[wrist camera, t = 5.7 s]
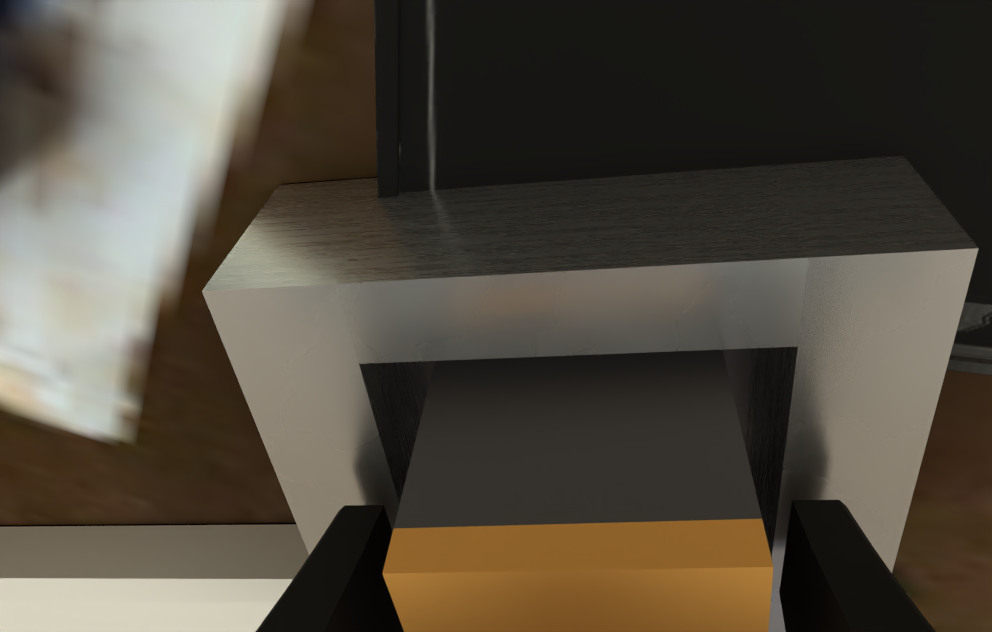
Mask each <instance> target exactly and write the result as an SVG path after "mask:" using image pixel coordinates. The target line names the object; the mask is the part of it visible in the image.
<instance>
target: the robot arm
mask: <svg viewBox="0 0 992 632" xmlns="http://www.w3.org/2000/svg"><path fill="white" fill-rule="evenodd" d="M391 537H392V530H391V527H390V523H389V520H388V517H387V513H386V510H385V507H384V505H344V506H343V507H342V508H341V509H340V510H339V511H338V513H337V514H336V516H335V517H334V519H333V521H332V522H331V524H330V525H329V527H328V528H327V530H326V531H325V533H324V534H323V536H322V537H321V539H320V540H319V542H318V543H317V545H316V546H315V548H314V549H313V551H312V552H311V554H310V555H309V557H308V558H307V560H306V561H305V563H304V564H303V566H302V567H301V569H300V570H299V571H298V573H297V574H296V576H295V577H294V579H293V580H292V582H291V583H290V585H289V586H288V587H287V589H286V590H285V592H284V593H283V594H282V596H281V597H280V599H279V600H278V601H277V603H276V604H275V605H274V607H273V608H272V610H271V611H270V612H269V614H268V615H267V617H266V618H265V619H264V621H263V622H262V623H261V625H260V626H259V628H258V629H257V630H256V632H404V630H403V628H402V625H401V622H400V620H399V617H398V614H397V612H396V609H395V606H394V603H393V601H392V598H391V595H390V593H389V590H388V587H387V585H386V582H385V579H384V577H383V574H382V573H383V569H384V565H385V561H386V557H387V553H388V549H389V545H390V541H391ZM779 595H780V601H781V607H782V613H783V619H784V624H785V630H786V632H935V630H934V629H933V628H932V626H931V625H930V624H929V623H928V621H927V620H926V619H925V617H924V616H923V615H922V614H921V612H920V611H919V610H918V608H917V607H916V606H915V604H914V603H913V602H912V600H911V599H910V598H909V596H908V595H907V594H906V592H905V591H904V589H903V588H902V587H901V585H900V584H899V582H898V581H897V580H896V578H895V577H894V576H893V574H892V573H891V571H890V570H889V569H888V567H887V566H886V564H885V563H884V562H883V560H882V559H881V557H880V556H879V554H878V553H877V551H876V550H875V549H874V547H873V546H872V544H871V543H870V541H869V540H868V538H867V537H866V535H865V534H864V532H863V531H862V529H861V528H860V526H859V525H858V523H857V522H856V520H855V519H854V517H853V515H852V514H851V512H850V511H849V509H848V507H847V506H846V505H845V504H844V503H842V502H841V501H840V500H792V503H791V510H790V518H789V525H788V532H787V539H786V547H785V554H784V561H783V568H782V575H781V583H780V590H779Z"/></svg>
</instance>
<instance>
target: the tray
mask: <svg viewBox="0 0 992 632" xmlns="http://www.w3.org/2000/svg"><path fill="white" fill-rule="evenodd" d="M308 557H309V554H308V551H307V549H306V546H305V544H304V541H303V539H302V536H301V534H300V531H299V529H298V526H297V524H283V525H157V526H30V527H0V632H256V630H257V629H258V628H259V626H260V625H261V623H262V622H263V621H264V619H265V618H266V617H267V615H268V614H269V612H270V611H271V610H272V608H273V607H274V605H275V604H276V603H277V601H278V600H279V599H280V597H281V596H282V594H283V593H284V592H285V590H286V589H287V587H288V586H289V585H290V583H291V582H292V580H293V579H294V577H295V576H296V574H297V573H298V571H299V570H300V569H301V567H302V566H303V564H304V563H305V561H306V560H307V558H308Z"/></svg>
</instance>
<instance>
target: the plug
mask: <svg viewBox="0 0 992 632" xmlns="http://www.w3.org/2000/svg"><path fill="white" fill-rule="evenodd" d="M382 574H383V577H384V579H385V582H386V585H387V587H388V590H389V593H390V595H391V598H392V601H393V603H394V606H395V609H396V612H397V614H398V617H399V620H400V622H401V625H402V628H403V630H404V632H768V629H769V617H770V604H771V592H772V579H773V563H772V558H771V554H770V550H769V546H768V541H767V537H766V533H765V529H764V524H763V520H762V516H761V512H760V507H759V503H758V499H757V495H756V490H755V486H754V482H753V478H752V473H751V469H750V465H749V460H748V456H747V452H746V448H745V443H744V439H743V435H742V431H741V426H740V422H739V418H738V414H737V409H736V405H735V401H734V397H733V392H732V388H731V384H730V379H729V375H728V371H727V367H726V362H725V358H724V354H723V350H698V351H672V352H647V353H622V354H596V355H571V356H545V357H520V358H494V359H469V360H444V361H435V364H434V368H433V372H432V376H431V380H430V384H429V388H428V392H427V396H426V400H425V404H424V408H423V412H422V416H421V420H420V424H419V428H418V432H417V436H416V440H415V444H414V448H413V453H412V457H411V461H410V465H409V469H408V473H407V477H406V481H405V485H404V489H403V493H402V497H401V501H400V505H399V509H398V513H397V517H396V521H395V525H394V529H393V533H392V537H391V541H390V545H389V549H388V553H387V557H386V561H385V565H384V569H383V573H382Z"/></svg>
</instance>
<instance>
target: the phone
mask: <svg viewBox="0 0 992 632" xmlns="http://www.w3.org/2000/svg"><path fill="white" fill-rule="evenodd" d="M374 4H375V71H376V139H377V198H388V197H397V196H398V194H399V193H400V192H413V191H427V190H441V189H454V188H468V187H482V186H495V185H509V184H523V183H536V182H550V181H564V180H577V179H591V178H605V177H618V176H632V175H646V174H659V173H673V172H687V171H700V170H714V169H728V168H741V167H755V166H769V165H782V164H796V163H810V162H823V161H837V160H851V159H864V158H878V157H892V156H904V157H905V158H906V159H907V161H908V162H909V163H910V164H911V165H912V167H913V168H914V169H915V170H916V172H917V173H918V174H919V175H920V177H921V178H922V179H923V180H924V182H925V183H926V184H927V185H928V186H929V188H930V189H931V190H932V191H933V193H934V194H935V195H936V196H937V198H938V199H939V200H940V201H941V202H942V204H943V205H944V206H945V207H946V209H947V210H948V211H949V212H950V214H951V215H952V216H953V217H954V219H955V220H956V221H957V222H958V223H959V225H960V226H961V227H962V228H963V230H964V231H965V232H966V233H967V235H968V236H969V237H970V238H971V240H972V241H973V242H974V243H975V244H976V246H977V247H978V248H979V249H978V253H977V256H976V260H975V264H974V268H973V271H972V275H971V279H970V282H969V286H968V290H967V294H966V297H965V301H964V305H963V309H962V312H961V316H960V320H959V324H958V327H957V331H956V335H955V339H954V342H953V346H952V350H951V354H950V357H949V361H948V365H947V369H946V370H951V371H960V372H969V373H977V374H986V375H992V0H374Z"/></svg>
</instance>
